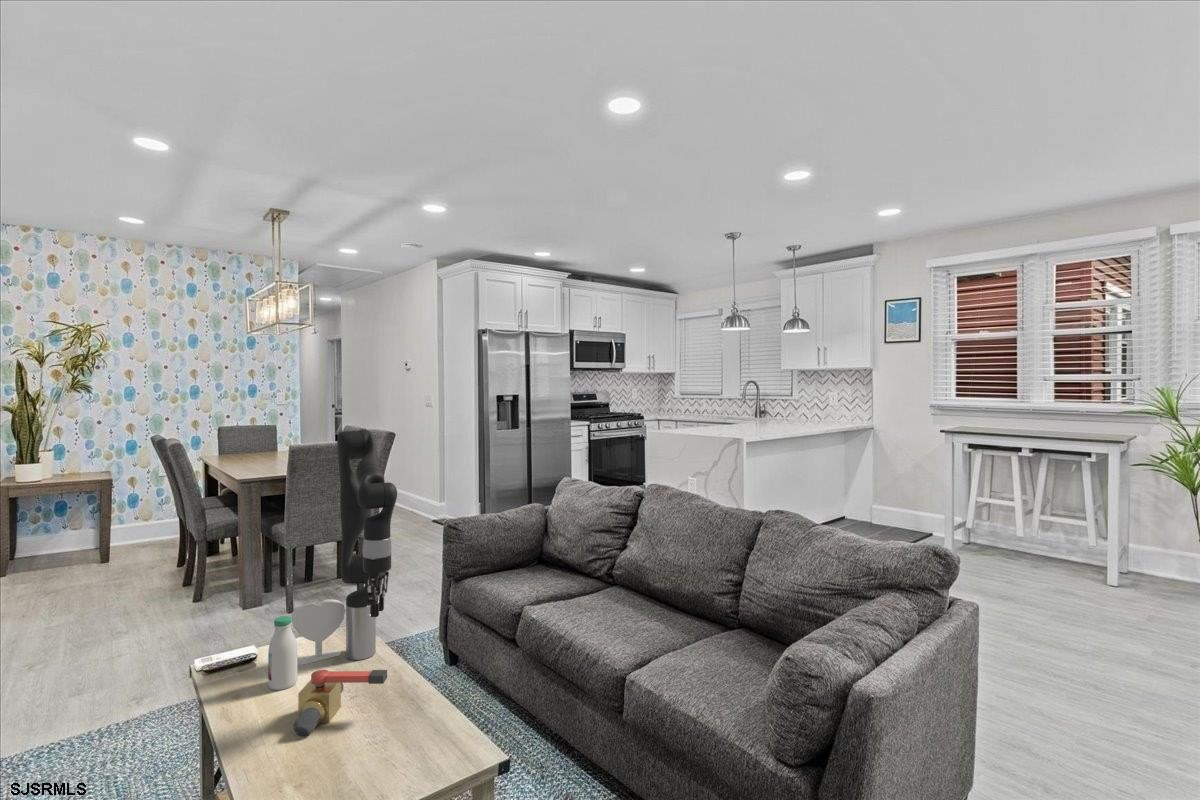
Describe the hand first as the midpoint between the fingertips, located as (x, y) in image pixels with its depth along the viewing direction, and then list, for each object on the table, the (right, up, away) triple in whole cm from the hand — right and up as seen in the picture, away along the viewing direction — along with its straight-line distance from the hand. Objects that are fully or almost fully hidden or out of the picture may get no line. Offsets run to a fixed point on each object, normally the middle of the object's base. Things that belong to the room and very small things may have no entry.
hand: (377, 613), depth 172 cm
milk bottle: (-32, -25, +9) cm, 41 cm away
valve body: (-13, -25, -7) cm, 29 cm away
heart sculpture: (-29, -24, +28) cm, 47 cm away
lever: (-5, -16, -7) cm, 18 cm away
